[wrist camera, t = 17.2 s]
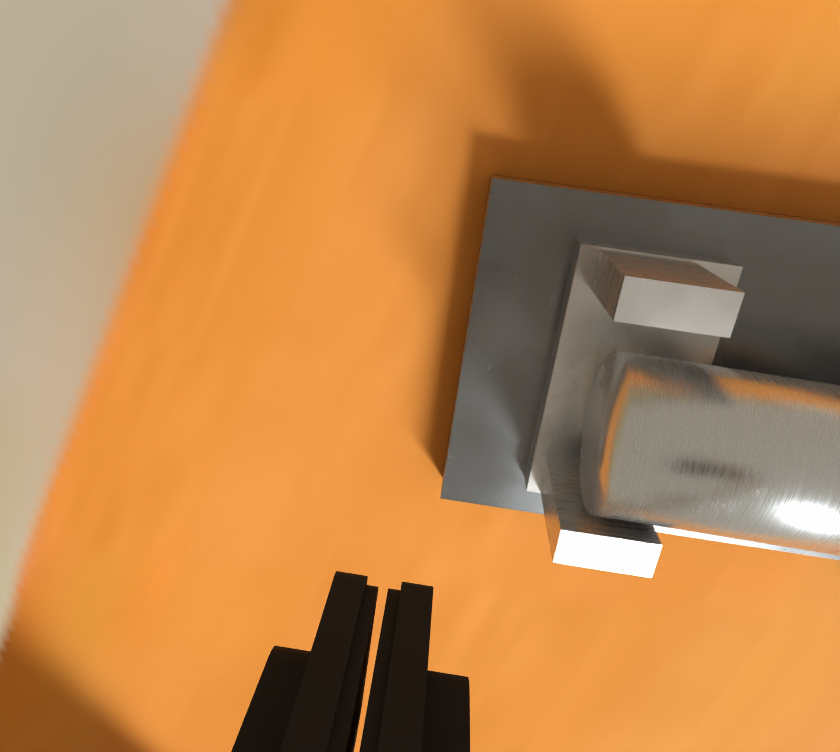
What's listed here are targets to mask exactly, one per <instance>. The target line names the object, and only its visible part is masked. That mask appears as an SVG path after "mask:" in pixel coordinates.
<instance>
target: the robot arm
mask: <svg viewBox="0 0 840 752" xmlns="http://www.w3.org/2000/svg"><path fill="white" fill-rule="evenodd" d="M367 578H368V577H367V576H363V575H357V574H351V573H345V572H338V571H336V573H335V576H334V579H333V582H332V585H331V588H330V592H329V595H328V598H327V601H326V604H325V608H324V611H323V614H322V617H321V621H320V624H319V627H318V630H317V633H316V637H315V640H314V643H313V646H312V649H311V651H304V650H298V649H292V648H286V647H280V646H274V647H273V649H272V650H271V653H270V655H269V657H268V660H267V662H266V665H265V667H264V670H263V672H262V675H261V677H260V680H259V683H258V685H257V688H256V690H255V693H254V695H253V698H252V700H251V703H250V705H249V708H248V711H247V713H246V716H245V718H244V721H243V723H242V726H241V728H240V731H239V733H238V736H237V739H236V741H235V744H234V746H233V749H232V751H231V752H354V747H355V742H356V736H357V731H358V725H359V719H360V713H361V707H362V700H363V693H364V686H365V679H366V672H367V665H368V658H369V651H370V644H371V636H372V629H373V622H374V615H375V608H376V601H377V594H378V587H376V586H370V585H367ZM432 599H433V587H432V586H426V585H420V584H413V583H407V582H402V585H401V590H395V589H388V593H387V599H386V604H385V610H384V616H383V621H382V627H381V633H380V638H379V644H378V650H377V655H376V661H375V667H374V672H373V678H372V684H371V689H370V695H369V701H368V706H367V712H366V718H365V723H364V729H363V735H362V740H361V746H360V752H470V696H469V679H468V677H465V676H459V675H452V674H446V673H440V672H434V671H428V670H427V669H428V655H429V641H430V627H431V613H432Z"/></svg>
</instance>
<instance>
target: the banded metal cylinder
mask: <svg viewBox="0 0 840 752" xmlns="http://www.w3.org/2000/svg"><path fill="white" fill-rule="evenodd" d="M580 487H581V494H582V499H583V503H584V506H585V508H586V510H587V511H588V513H589V514H591V515H593V516H599V517H605V518H612V519H618V520H624V521H630V522H636V523H642V524H648V525H655V526H661V527H667V528H673V529H679V530H685V531H691V532H698V533H704V534H710V535H716V536H722V537H728V538H734V539H740V540H747V541H753V542H759V543H765V544H771V545H777V546H783V547H790V548H796V549H802V550H808V551H814V552H820V553H826V554H833V555H839V556H840V385H835V384H828V383H822V382H815V381H809V380H803V379H796V378H790V377H783V376H777V375H770V374H764V373H757V372H751V371H745V370H738V369H732V368H725V367H719V366H712V365H706V364H700V363H693V362H687V361H680V360H674V359H667V358H661V357H654V356H648V355H642V354H635V353H629V352H622V351H613V352H611V353H610V354H609V355H608V356H607V357H606V358H605V360H604V361H603V363H602V365H601V366H600V369H599V371H598V373H597V375H596V378H595V380H594V383H593V386H592V389H591V393H590V396H589V400H588V404H587V409H586V413H585V418H584V424H583V431H582V439H581V449H580Z"/></svg>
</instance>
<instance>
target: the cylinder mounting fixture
mask: <svg viewBox="0 0 840 752" xmlns="http://www.w3.org/2000/svg"><path fill="white" fill-rule="evenodd" d="M613 351H622V352H629V353H635V354H642V355H648V356H654V357H661V358H667V359H674V360H680V361H687V362H693V363H700V364H706V365H712V366H719V367H725V368H732V369H738V370H745V371H751V372H757V373H764V374H770V375H777V376H783V377H790V378H796V379H803V380H809V381H815V382H822V383H828V384H835V385H840V223H835V222H828V221H821V220H814V219H806V218H799V217H792V216H785V215H778V214H770V213H763V212H756V211H749V210H741V209H734V208H727V207H720V206H713V205H705V204H698V203H691V202H684V201H676V200H669V199H662V198H655V197H648V196H640V195H633V194H626V193H619V192H612V191H604V190H597V189H590V188H583V187H575V186H568V185H561V184H554V183H547V182H539V181H532V180H525V179H518V178H510V177H503V176H496V175H491V181H490V187H489V194H488V200H487V206H486V212H485V218H484V225H483V231H482V237H481V243H480V249H479V256H478V262H477V268H476V274H475V280H474V286H473V293H472V299H471V305H470V311H469V317H468V324H467V330H466V336H465V342H464V348H463V355H462V361H461V367H460V373H459V379H458V386H457V392H456V398H455V404H454V410H453V417H452V423H451V429H450V435H449V441H448V448H447V454H446V460H445V466H444V472H443V479H442V489H441V498H442V499H449V500H455V501H461V502H468V503H474V504H481V505H487V506H494V507H500V508H507V509H513V510H519V511H526V512H532V513H539V514H544V515H545V521H546V527H547V532H548V538H549V544H550V550H551V555H552V561H553V562H554V563H560V564H566V565H573V566H579V567H585V568H592V569H598V570H605V571H611V572H617V573H624V574H630V575H636V576H643V577H649V578H652V575H653V572H654V569H655V566H656V562H657V559H658V556H659V553H660V550H661V547H662V544H661V542H660V540H659V537H658V535H657V533H656V532H661V533H668V534H674V535H681V536H687V537H693V538H700V539H706V540H713V541H719V542H726V543H732V544H739V545H745V546H751V547H758V548H764V549H771V550H777V551H784V552H790V553H797V554H803V555H809V556H816V557H822V558H829V559H835V560H840V556H839V555H833V554H826V553H820V552H814V551H808V550H802V549H796V548H790V547H783V546H777V545H771V544H765V543H759V542H753V541H747V540H740V539H734V538H728V537H722V536H716V535H710V534H704V533H698V532H691V531H685V530H679V529H673V528H667V527H661V526H655V525H648V524H642V523H636V522H630V521H624V520H618V519H612V518H605V517H599V516H593V515H591V514H589V513H588V511H587V510H586V508H585V506H584V503H583V499H582V494H581V487H580V449H581V439H582V431H583V424H584V418H585V413H586V409H587V404H588V400H589V396H590V393H591V389H592V386H593V383H594V380H595V378H596V375H597V373H598V371H599V369H600V366H601V365H602V363H603V361H604V360H605V358H606V357H607V356H608V355H609V354H610V353H611V352H613Z"/></svg>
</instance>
